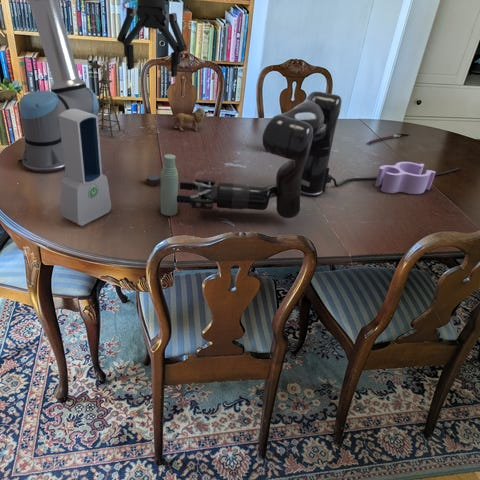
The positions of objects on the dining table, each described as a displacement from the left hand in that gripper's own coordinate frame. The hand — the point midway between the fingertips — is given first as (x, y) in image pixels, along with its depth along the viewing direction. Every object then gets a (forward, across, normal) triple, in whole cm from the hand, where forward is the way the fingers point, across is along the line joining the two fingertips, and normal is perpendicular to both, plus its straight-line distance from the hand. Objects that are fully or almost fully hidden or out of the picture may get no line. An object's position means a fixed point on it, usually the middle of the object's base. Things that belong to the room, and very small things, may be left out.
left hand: (152, 72), depth 136 cm
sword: (+36, +77, +88) cm, 122 cm away
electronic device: (+36, -8, -27) cm, 46 cm away
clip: (+36, +81, +37) cm, 96 cm away
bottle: (+36, +12, -15) cm, 41 cm away
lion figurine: (+36, -8, +54) cm, 65 cm away
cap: (+34, 0, 0) cm, 34 cm away
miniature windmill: (+36, -35, +34) cm, 60 cm away
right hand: (+29, +14, -14) cm, 35 cm away
